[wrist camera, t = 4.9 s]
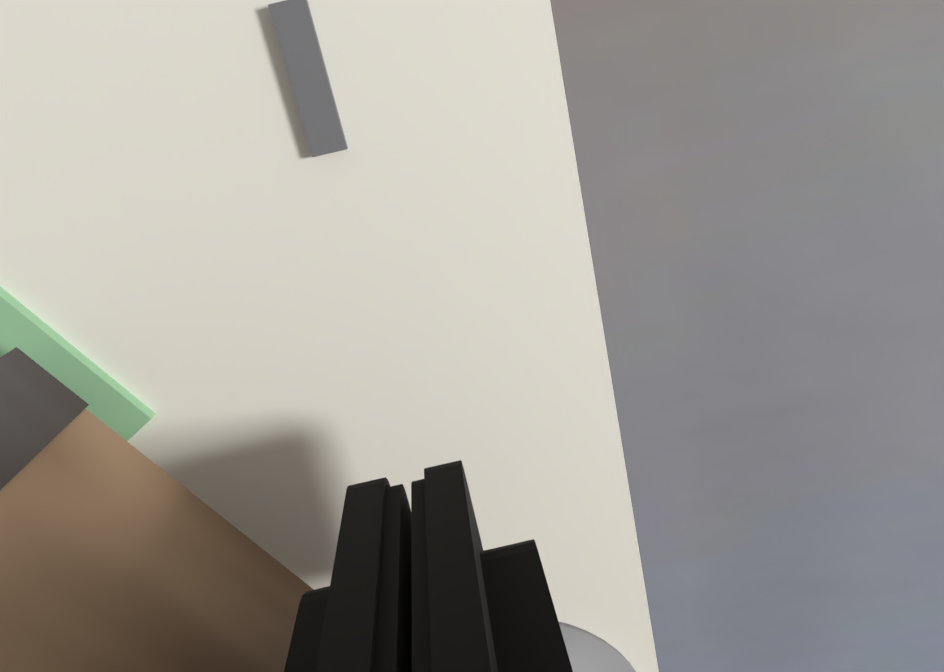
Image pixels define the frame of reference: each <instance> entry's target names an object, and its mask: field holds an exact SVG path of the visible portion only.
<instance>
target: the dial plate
mask: <svg viewBox="0 0 944 672" xmlns="http://www.w3.org/2000/svg"><path fill="white" fill-rule="evenodd" d="M16 347H17V348H19V349H20V350H21V351H22V352H24V353H25V354H26V355H27V356H29V357H30V358H31V359H32V360H34V361H35V362H36V363H37V364H39V365H40V366H41V367H42V368H44V369H45V370H46V371H47V372H49V373H50V374H51V375H52V376H54V377H55V378H56V379H57V380H59V381H60V382H61V383H63V384H64V385H65V386H66V387H68V388H69V389H70V390H71V391H73V392H74V393H75V394H76V395H78V396H79V397H80V398H81V399H83V400H84V401H85V402H86V403H88V404H89V405H88V406H87V407H86V408H85V409H87V410H88V411H89V412H90V413H92V414H93V415H94V416H95V417H97V418H98V419H99V420H101V421H102V422H103V423H104V424H106V425H107V426H108V427H109V428H111V429H112V430H113V431H114V432H116V433H117V434H118V435H119V436H121V437H122V438H123V439H124V440H126V441H127V442H128V443H130V444H131V445H132V446H133V447H135V448H136V449H137V450H138V451H140V452H141V453H142V454H143V455H145V456H146V457H147V458H148V459H150V460H151V461H152V462H154V463H155V464H156V465H157V466H159V467H160V468H161V469H162V470H164V471H165V472H166V473H167V474H169V475H170V476H171V477H172V478H174V479H175V480H176V481H177V482H179V483H180V484H181V485H183V486H184V487H185V488H186V489H188V490H189V491H190V492H191V493H193V494H194V495H195V496H196V497H198V498H199V499H200V500H201V501H203V502H204V503H205V504H207V505H208V506H209V507H210V508H212V509H213V510H214V511H215V512H217V513H218V514H219V515H220V516H222V517H223V518H224V519H225V520H227V521H228V522H229V523H230V524H232V525H233V526H234V527H236V528H237V529H238V530H239V531H241V532H242V533H243V534H244V535H246V536H247V537H248V538H249V539H251V540H252V541H253V542H254V543H256V544H257V545H258V546H260V547H261V548H262V549H263V550H265V551H266V552H267V553H268V554H270V555H271V556H272V557H273V558H275V559H276V560H277V561H278V562H280V563H281V564H282V565H283V566H285V567H286V568H287V569H289V570H290V571H291V572H292V573H294V574H295V575H296V576H297V577H299V578H300V579H301V580H302V581H304V582H305V583H306V584H307V585H309V586H310V587H311V588H312V589H314V590H315V589H319V588H323V587H328V586H330V583H331V577H332V571H333V565H334V560H335V554H336V548H337V542H338V536H339V530H340V524H341V518H342V513H343V507H344V501H345V495H346V489H347V486H349V485H354V484H358V483H362V482H367V481H371V480H376V479H380V478H384V477H386V478H387V479H388V481H389V484H390V487H391V486H395V485H399V484H403V486H404V488H405V491H406V494H407V498H408V502H409V505H410V509H411V482H412V481H417V480H421V479H424V469H425V468H428V467H433V466H437V465H441V464H446V463H450V462H455V461H459V460H461V461H462V464H463V468H464V472H465V476H466V480H467V484H468V488H469V492H470V497H471V501H472V505H473V509H474V513H475V517H476V522H477V526H478V530H479V534H480V538H481V543H482V547H483V551H484V550H489V549H493V548H497V547H502V546H506V545H510V544H515V543H519V542H524V541H528V540H532V539H534V540H535V543H536V546H537V549H538V553H539V556H540V560H541V563H542V567H543V570H544V574H545V577H546V580H547V584H548V587H549V591H550V594H551V598H552V601H553V605H554V608H555V611H556V615H557V618H558V622H559V625H560V629H561V632H562V636H563V639H564V642H565V646H566V649H567V653H568V656H569V660H570V663H571V667H572V670H573V672H659V671H658V665H657V659H656V652H655V646H654V640H653V634H652V628H651V622H650V615H649V609H648V603H647V597H646V591H645V584H644V578H643V572H642V566H641V560H640V554H639V547H638V541H637V535H636V529H635V523H634V516H633V510H632V504H631V498H630V492H629V486H628V479H627V473H626V467H625V461H624V455H623V449H622V442H621V436H620V430H619V424H618V418H617V411H616V405H615V399H614V393H613V387H612V381H611V374H610V368H609V362H608V356H607V350H606V343H605V337H604V331H603V325H602V319H601V313H600V306H599V300H598V294H597V288H596V282H595V275H594V269H593V263H592V257H591V251H590V245H589V238H588V232H587V226H586V220H585V214H584V208H583V201H582V195H581V189H580V183H579V177H578V170H577V164H576V158H575V152H574V146H573V140H572V133H571V127H570V121H569V115H568V109H567V102H566V96H565V90H564V84H563V78H562V72H561V65H560V59H559V53H558V47H557V41H556V35H555V28H554V22H553V16H552V10H551V4H550V0H0V357H2V356H3V355H5V354H6V353H8V352H10V351H11V350H13V349H14V348H16Z"/></svg>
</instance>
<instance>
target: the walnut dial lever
mask: <svg viewBox="0 0 944 672" xmlns="http://www.w3.org/2000/svg"><path fill="white" fill-rule="evenodd" d="M88 405H89V404H88V403H86V402H85V401H84V400H83V399H81V398H80V397H79V396H78V395H76V394H75V393H74V392H73V391H71V390H70V389H69V388H68V387H66V386H65V385H64V384H63V383H61V382H60V381H59V380H57V379H56V378H55V377H54V376H52V375H51V374H50V373H49V372H47V371H46V370H45V369H44V368H42V367H41V366H40V365H39V364H37V363H36V362H35V361H34V360H32V359H31V358H30V357H29V356H27V355H26V354H25V353H24V352H22V351H21V350H20V349H19V348H17V347H16V348H14V349H13V350H11V351H10V352H8V353H6V354H5V355H3V356H2V357H0V672H284V669H285V665H286V660H287V656H288V651H289V647H290V642H291V638H292V634H293V629H294V625H295V620H296V616H297V612H298V607H299V603H300V600H301V597H302V595H303V594H304V593H305V592H306V591H310V590H314V589H312V588H311V587H310V586H309V585H307V584H306V583H305V582H304V581H302V580H301V579H300V578H299V577H297V576H296V575H295V574H294V573H292V572H291V571H290V570H289V569H287V568H286V567H285V566H283V565H282V564H281V563H280V562H278V561H277V560H276V559H275V558H273V557H272V556H271V555H270V554H268V553H267V552H266V551H265V550H263V549H262V548H261V547H260V546H258V545H257V544H256V543H254V542H253V541H252V540H251V539H249V538H248V537H247V536H246V535H244V534H243V533H242V532H241V531H239V530H238V529H237V528H236V527H234V526H233V525H232V524H230V523H229V522H228V521H227V520H225V519H224V518H223V517H222V516H220V515H219V514H218V513H217V512H215V511H214V510H213V509H212V508H210V507H209V506H208V505H207V504H205V503H204V502H203V501H201V500H200V499H199V498H198V497H196V496H195V495H194V494H193V493H191V492H190V491H189V490H188V489H186V488H185V487H184V486H183V485H181V484H180V483H179V482H177V481H176V480H175V479H174V478H172V477H171V476H170V475H169V474H167V473H166V472H165V471H164V470H162V469H161V468H160V467H159V466H157V465H156V464H155V463H154V462H152V461H151V460H150V459H148V458H147V457H146V456H145V455H143V454H142V453H141V452H140V451H138V450H137V449H136V448H135V447H133V446H132V445H131V444H130V443H128V442H127V441H126V440H124V439H123V438H122V437H121V436H119V435H118V434H117V433H116V432H114V431H113V430H112V429H111V428H109V427H108V426H107V425H106V424H104V423H103V422H102V421H101V420H99V419H98V418H97V417H95V416H94V415H93V414H92V413H90V412H89V411H88V410H87V409H85V408H86V407H87V406H88Z"/></svg>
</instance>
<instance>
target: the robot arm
mask: <svg viewBox="0 0 944 672" xmlns="http://www.w3.org/2000/svg"><path fill="white" fill-rule="evenodd" d="M284 672H573V670H572V667H571V663H570V660H569V656H568V653H567V649H566V646H565V642H564V639H563V636H562V632H561V629H560V625H559V622H558V618H557V615H556V611H555V608H554V605H553V601H552V598H551V594H550V591H549V587H548V584H547V580H546V577H545V574H544V570H543V567H542V563H541V560H540V556H539V553H538V549H537V546H536V543H535V540H534V539H532V540H528V541H524V542H519V543H515V544H510V545H506V546H502V547H497V548H493V549H489V550H484V551H483V547H482V543H481V538H480V534H479V530H478V526H477V522H476V517H475V513H474V509H473V505H472V501H471V497H470V492H469V488H468V484H467V480H466V476H465V472H464V468H463V464H462V461H461V460H459V461H455V462H450V463H446V464H441V465H437V466H433V467H428V468H425V469H424V479H421V480H417V481H412V482H411V509H410V505H409V502H408V498H407V494H406V491H405V488H404V486H403V484H399V485H395V486H391V487H390V484H389V481H388V479H387V478H386V477H384V478H380V479H376V480H371V481H367V482H362V483H358V484H354V485H349V486H347V489H346V495H345V501H344V507H343V513H342V518H341V524H340V530H339V536H338V542H337V548H336V554H335V560H334V565H333V571H332V577H331V583H330V586H328V587H323V588H319V589H315V590H310V591H306V592H305V593H304V594H303V595H302V597H301V600H300V603H299V607H298V612H297V616H296V620H295V625H294V629H293V634H292V638H291V642H290V647H289V651H288V656H287V660H286V665H285V669H284Z"/></svg>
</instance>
